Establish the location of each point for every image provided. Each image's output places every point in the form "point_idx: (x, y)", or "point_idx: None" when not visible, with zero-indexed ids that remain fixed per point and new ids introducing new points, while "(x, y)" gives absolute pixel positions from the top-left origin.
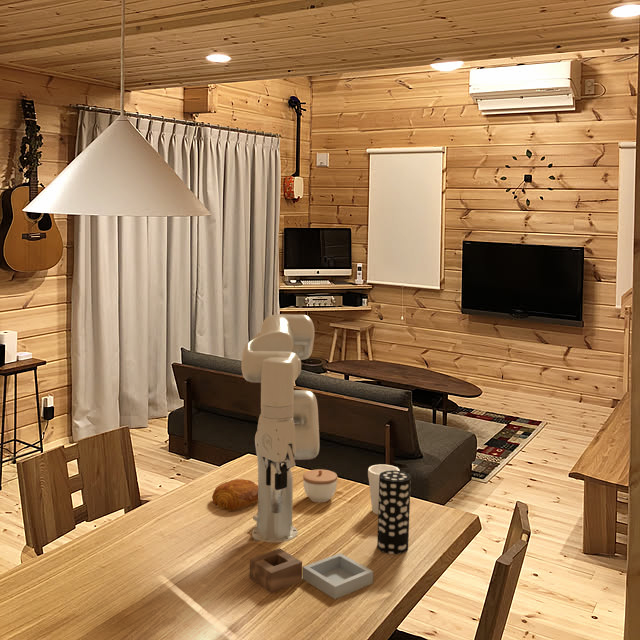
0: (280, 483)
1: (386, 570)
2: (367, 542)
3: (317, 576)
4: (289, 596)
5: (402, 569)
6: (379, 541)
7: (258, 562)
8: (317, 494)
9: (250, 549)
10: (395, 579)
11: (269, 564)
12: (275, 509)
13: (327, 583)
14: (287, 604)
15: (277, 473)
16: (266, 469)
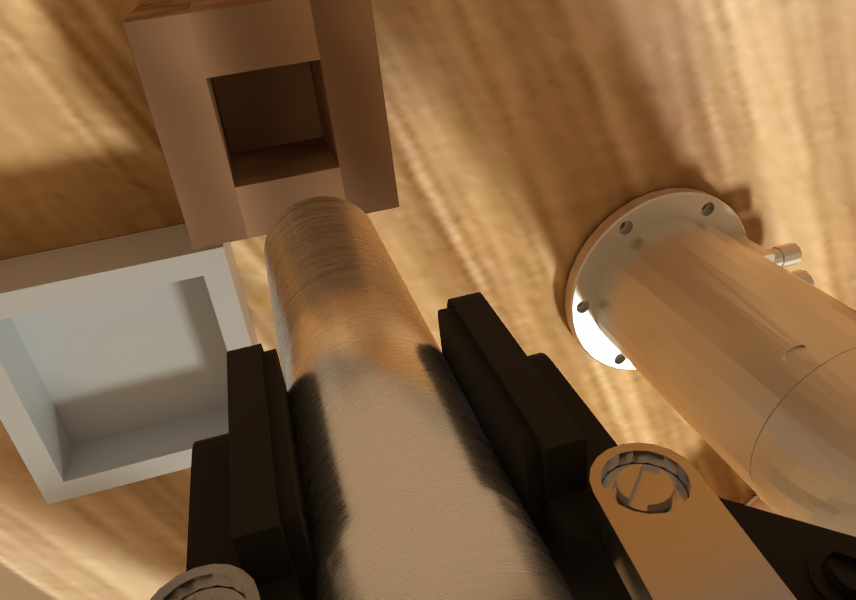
0: (198, 465)
1: (176, 536)
2: None
3: (94, 272)
4: (114, 100)
5: (159, 582)
6: None
7: (296, 14)
8: None
9: (618, 135)
10: (92, 541)
11: (241, 65)
12: (276, 237)
13: (9, 288)
14: (33, 51)
15: (218, 569)
16: (574, 439)
